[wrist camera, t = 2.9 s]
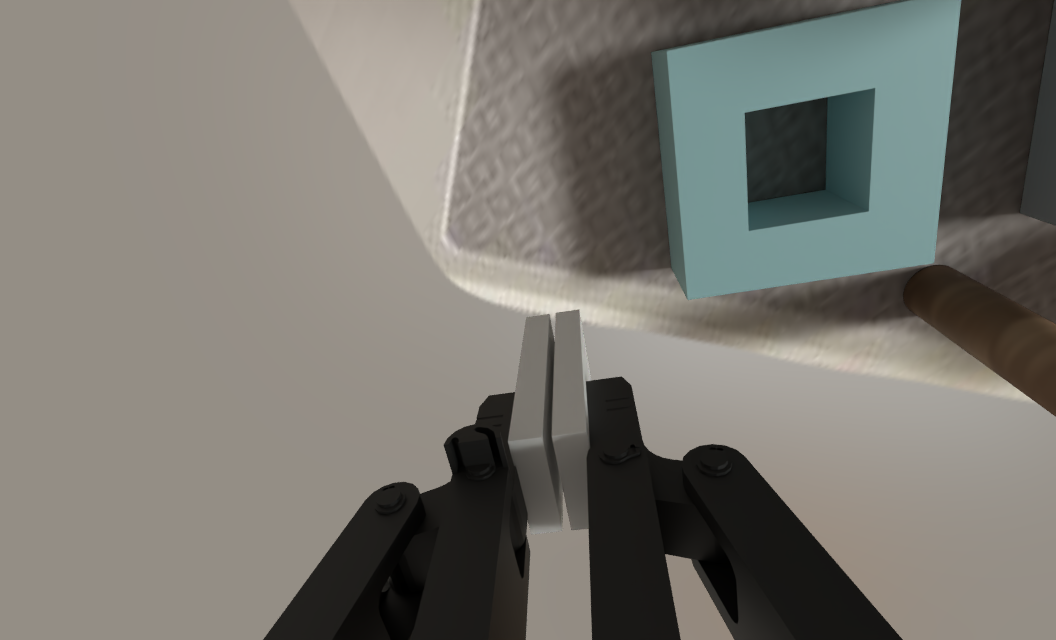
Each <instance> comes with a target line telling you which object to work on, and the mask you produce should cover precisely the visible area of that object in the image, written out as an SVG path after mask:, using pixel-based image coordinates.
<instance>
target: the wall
mask: <svg viewBox="0 0 1056 640" xmlns="http://www.w3.org/2000/svg"><path fill="white" fill-rule="evenodd" d="M1020 213H1021V214H1024V215H1027V216H1029V217H1032V218H1035V219H1038V220H1041V221H1044V222H1047V223H1050V224H1053V225H1056V0H1054V5H1053V11H1052V17H1051V23H1050V30H1049V36H1048V42H1047V48H1046V54H1045V60H1044V67H1043V73H1042V79H1041V85H1040V91H1039V97H1038V104H1037V110H1036V116H1035V122H1034V128H1033V135H1032V141H1031V147H1030V153H1029V159H1028V165H1027V172H1026V178H1025V184H1024V190H1023V196H1022V202H1021V209H1020Z"/></svg>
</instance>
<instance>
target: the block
mask: <svg viewBox="0 0 1056 640" xmlns="http://www.w3.org/2000/svg"><path fill="white" fill-rule="evenodd" d="M960 7H961V0H900V1H895V2H890V3H885V4H880V5H876V6H871V7H866V8H861V9H856V10H851V11H847V12H842V13H837V14H832V15H827V16H823V17H818V18H813V19H808V20H803V21H799V22H794V23H789V24H784V25H779V26H774V27H770V28H765V29H760V30H755V31H750V32H746V33H741V34H736V35H731V36H726V37H722V38H717V39H712V40H707V41H702V42H697V43H693V44H688V45H683V46H678V47H673V48H669V49H664V50H659V51H654V52H651V56H652V67H653V77H654V88H655V98H656V109H657V120H658V130H659V141H660V152H661V162H662V173H663V183H664V194H665V205H666V215H667V226H668V237H669V247H670V258H671V268H672V270H673V272H674V274H675V276H676V278H677V280H678V282H679V284H680V286H681V288H682V290H683V292H684V294H685V296H686V298H687V300H691V299H698V298H704V297H711V296H718V295H724V294H731V293H738V292H744V291H751V290H758V289H765V288H771V287H778V286H785V285H791V284H798V283H805V282H811V281H818V280H825V279H831V278H838V277H845V276H851V275H858V274H865V273H871V272H878V271H885V270H891V269H898V268H905V267H912V266H918V265H925V264H932V263H934V258H935V248H936V239H937V229H938V219H939V210H940V200H941V190H942V181H943V171H944V161H945V152H946V142H947V132H948V123H949V113H950V104H951V94H952V84H953V75H954V65H955V55H956V46H957V36H958V26H959V17H960ZM825 97H828V101H827V148H826V190H821V191H815V192H809V193H803V194H797V195H791V196H785V197H779V198H774V199H768V200H762V201H756V202H750V203H748V197H747V168H746V140H745V113H746V112H751V111H756V110H762V109H767V108H772V107H778V106H783V105H788V104H793V103H799V102H804V101H809V100H814V99H820V98H825Z"/></svg>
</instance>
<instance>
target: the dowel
mask: <svg viewBox="0 0 1056 640" xmlns="http://www.w3.org/2000/svg"><path fill="white" fill-rule="evenodd" d="M903 298H904V303H905V305H906V306H907V308H908V309H909V310H910V311H912V312H913V313H915V314H916V315H917V316H919V317H920V318H921V319H923V320H924V321H925V322H927V323H928V324H930V325H931V326H932V327H934V328H935V329H936V330H938V331H939V332H941V333H942V334H943V335H945V336H946V337H947V338H949V339H950V340H951V341H953V342H954V343H956V344H957V345H958V346H960V347H961V348H962V349H964V350H965V351H967V352H968V353H969V354H971V355H972V356H973V357H975V358H976V359H978V360H979V361H980V362H982V363H983V364H984V365H986V366H987V367H988V368H990V369H991V370H993V371H994V372H995V373H997V374H998V375H999V376H1001V377H1002V378H1004V379H1005V380H1006V381H1008V382H1009V383H1010V384H1012V385H1013V386H1014V387H1016V388H1017V389H1019V390H1020V391H1021V392H1023V393H1024V394H1025V395H1027V396H1028V397H1030V398H1031V399H1032V400H1034V401H1035V402H1036V403H1038V404H1039V405H1041V406H1042V407H1043V408H1045V409H1046V410H1047V411H1049V412H1050V413H1051V414H1053V415H1054V416H1056V324H1054V323H1053V322H1051V321H1049V320H1047V319H1045V318H1043V317H1042V316H1040V315H1038V314H1036V313H1034V312H1032V311H1030V310H1029V309H1027V308H1025V307H1023V306H1021V305H1019V304H1018V303H1016V302H1014V301H1012V300H1010V299H1008V298H1006V297H1005V296H1003V295H1001V294H999V293H997V292H995V291H994V290H992V289H990V288H988V287H986V286H984V285H983V284H981V283H979V282H977V281H975V280H973V279H971V278H970V277H968V276H966V275H964V274H962V273H960V272H959V271H957V270H955V269H953V268H951V267H949V266H945V265H934V266H930V267H927V268H924V269H922V270H920V271H919V272H917V273H916V274H915V275H914V276H913V277H912V278H911V279H910V280H909V281H908V283H907V285H906V287H905V289H904V294H903Z"/></svg>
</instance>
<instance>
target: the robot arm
mask: <svg viewBox="0 0 1056 640" xmlns="http://www.w3.org/2000/svg"><path fill="white" fill-rule="evenodd" d="M444 448H445V451H446V454H447V457H448V460H449V463H450V467H451V470H452V474H453V475H452V478H451V481H450V482H448V483H447V484H445V485H443V486H441V487H438V488H436V489H433V490H430V491H427V492H424V493H422V494H420V493H419V490H418V488H417V487H416V486H415V485H413V484H411V483H407V482H398V483H392V484H389V485H386V486H384V487H382V488H380V489H378V490H377V491H375V492H373V493H372V494H371V495H370V496H369V497H368V498H367V499H366V500H365V502H364V503H363V504H362V506H361V507H360V508H359V510H358V511H357V513H356V514H355V515H354V517H353V518H352V519H351V521H350V522H349V523H348V525H347V526H346V528H345V529H344V530H343V532H342V533H341V534H340V536H339V537H338V539H337V540H336V541H335V543H334V544H333V545H332V547H331V548H330V549H329V551H328V552H327V553H326V555H325V556H324V558H323V559H322V560H321V562H320V563H319V564H318V566H317V567H316V568H315V570H314V571H313V573H312V574H311V575H310V577H309V578H308V579H307V581H306V582H305V583H304V585H303V586H302V588H301V589H300V590H299V592H298V593H297V594H296V596H295V597H294V598H293V600H292V601H291V603H290V604H289V605H288V607H287V608H286V610H285V611H284V612H283V613H282V615H281V617H280V618H279V619H278V620H277V622H276V623H275V624H274V626H273V627H272V628H271V630H270V631H269V633H268V634H267V635H266V637H265V638H264V639H263V640H526V622H527V603H528V584H529V565H530V549H529V544H528V540H527V536H526V529H527V520H528V524H529V528H530V532H531V534H539V533H549V532H559V531H563V525H562V523H563V517H562V516H563V492H564V497H565V502H566V507H567V511H568V516H569V521H570V525H571V530H578V529H589V554H590V584H591V585H590V586H591V617H592V640H681V639H680V634H679V628H678V623H677V618H676V612H675V606H674V602H673V596H672V590H671V585H670V580H669V574H668V568H667V563H666V557H665V554H668V555H673V556H679V557H684V558H690V559H692V563H693V566H694V568H695V570H696V571H697V573H698V575H699V577H700V578H701V580H702V582H703V584H704V586H705V588H706V589H707V591H708V593H709V595H710V597H711V598H712V600H713V602H714V604H715V606H716V607H717V609H718V611H719V613H720V614H721V616H722V618H723V620H724V622H725V623H726V625H727V627H728V629H729V631H730V632H731V634H732V636H733V638H734V640H902V638H901V637H900V636H899V635H898V634H897V633H896V631H895V630H894V629H893V628H892V627H891V626H890V624H889V623H888V622H887V621H886V620H885V619H884V618H883V616H882V615H881V614H880V613H879V612H878V611H877V609H876V608H875V607H874V606H873V605H872V604H871V602H870V601H869V600H868V599H867V598H866V597H865V596H864V594H863V593H862V592H861V591H860V590H859V588H858V587H857V586H856V585H855V584H854V583H853V582H852V580H851V579H850V578H849V577H848V576H847V575H846V573H845V572H844V571H843V570H842V569H841V568H840V567H839V565H838V564H837V563H836V562H835V561H834V559H833V558H832V557H831V556H830V555H829V554H828V552H827V551H826V550H825V549H824V548H823V547H822V546H821V544H820V543H819V542H818V541H817V540H816V539H815V537H814V536H813V535H812V534H811V533H810V532H809V531H808V529H807V528H806V527H805V526H804V525H803V523H802V522H801V521H800V520H799V519H798V518H797V517H796V515H795V514H794V513H793V512H792V511H791V510H790V508H789V507H788V506H787V505H786V504H785V503H784V501H783V500H782V499H781V498H780V497H779V496H778V494H777V493H776V492H775V491H774V490H773V489H772V487H771V486H770V485H769V484H768V483H767V482H766V481H765V479H764V478H763V477H762V476H761V475H760V474H759V473H758V471H757V470H756V469H755V468H754V467H753V465H752V464H751V463H750V462H749V461H748V460H747V458H746V457H745V456H744V455H742V454H741V453H740V452H739V451H737V450H736V449H733V448H730V447H728V446H723V445H714V444H711V445H703V446H699V447H697V448H694V449H692V450H690V451H689V452H688V453H687V454H686V455H685V456H684V457H683V461H680V460H672V459H666V458H662V457H660V456H657V455H655V454H653V453H652V452H650V451H649V450H648V449H647V448H646V447H645V446H644V443H643V441H642V436H641V431H640V427H639V421H638V416H637V411H636V406H635V402H634V396H633V391H632V387H631V385H630V384H629V383H628V382H627V381H626V380H625V379H624V378H623V377H615V378H608V379H600V380H593V381H591V376H590V371H589V364H588V359H587V352H586V346H585V341H584V335H583V329H582V323H581V317H580V311H579V310H573V311H566V312H559V313H556V324H555V341H554V336H553V330H552V325H551V320H550V315H549V314H546V315H540V316H533V317H527V318H526V323H525V330H524V336H523V343H522V350H521V356H520V363H519V370H518V377H517V383H516V390H515V392H513V393H505V394H498V395H490V396H488V398H487V399H486V400H485V401H484V403H482V405H481V406H480V407H479V411H478V415H477V420H476V423H475V424H474V425H470V426H466V427H464V428H462V429H459V430H458V431H456V432H454V433H453V434H452V435H451V436H450V437H448V438H447V440H446V442H445V444H444Z"/></svg>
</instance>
